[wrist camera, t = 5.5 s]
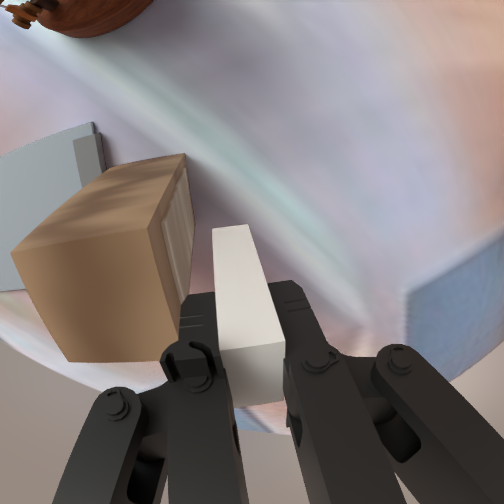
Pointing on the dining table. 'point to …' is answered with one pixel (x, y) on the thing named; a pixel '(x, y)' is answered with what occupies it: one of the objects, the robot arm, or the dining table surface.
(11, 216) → the mat
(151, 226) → the brown rectangular block
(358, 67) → the dining table surface
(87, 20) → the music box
